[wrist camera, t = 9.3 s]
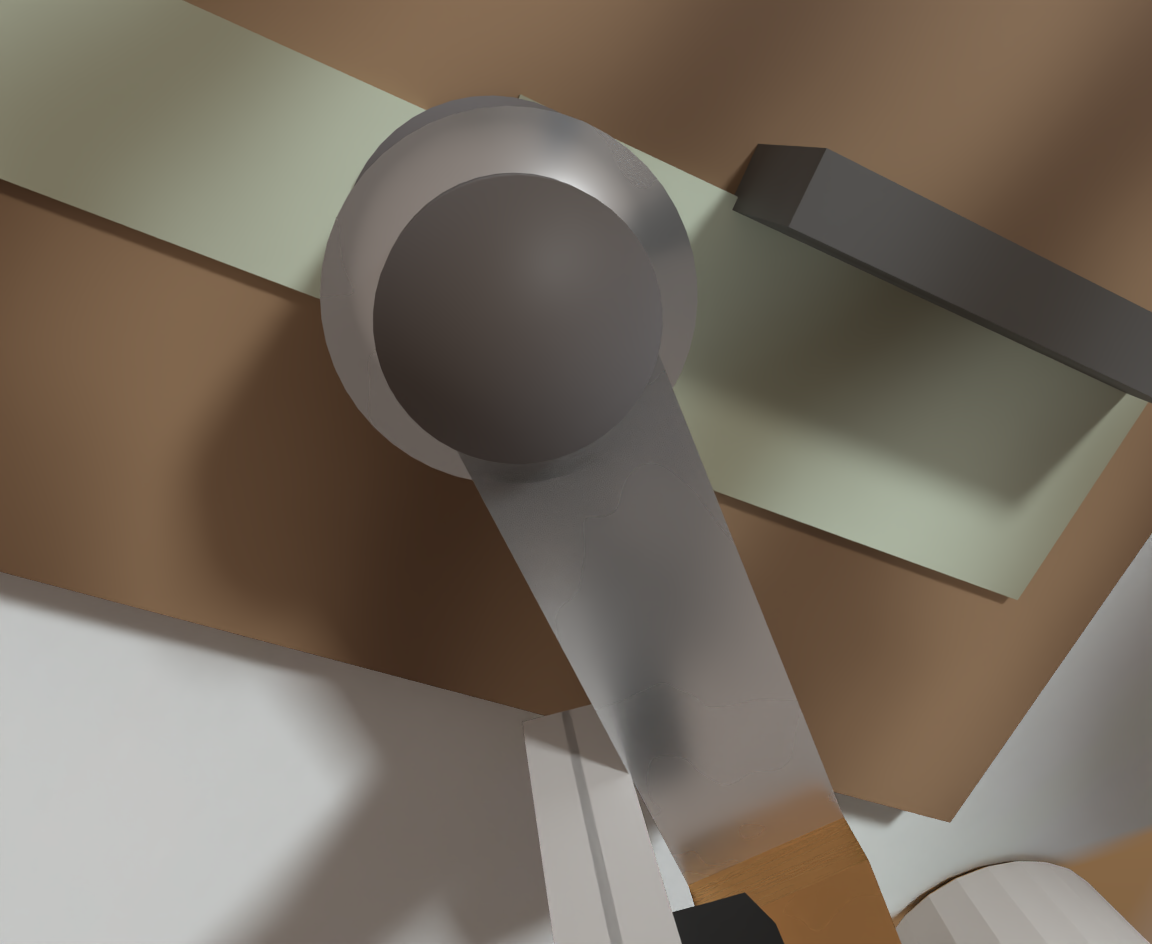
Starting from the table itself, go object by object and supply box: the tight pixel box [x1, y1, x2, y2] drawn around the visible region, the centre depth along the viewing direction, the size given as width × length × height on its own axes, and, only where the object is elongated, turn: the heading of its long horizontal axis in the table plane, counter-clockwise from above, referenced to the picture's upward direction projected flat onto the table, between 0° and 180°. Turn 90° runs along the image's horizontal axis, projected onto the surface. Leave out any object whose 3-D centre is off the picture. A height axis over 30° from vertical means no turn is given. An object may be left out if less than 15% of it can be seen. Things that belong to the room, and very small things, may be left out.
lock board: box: [0, 0, 1152, 822], centre depth 11 cm, size 24×15×6 cm, turn 67°
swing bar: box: [320, 106, 901, 944], centre depth 12 cm, size 13×4×4 cm, turn 24°
